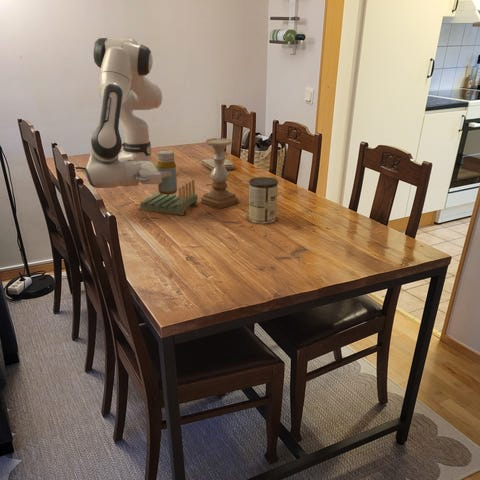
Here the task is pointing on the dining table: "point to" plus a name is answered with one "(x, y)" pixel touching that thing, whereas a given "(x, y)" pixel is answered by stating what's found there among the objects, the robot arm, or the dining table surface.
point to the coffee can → (262, 199)
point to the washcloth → (211, 164)
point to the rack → (171, 201)
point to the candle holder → (219, 177)
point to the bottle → (164, 165)
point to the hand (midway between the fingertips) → (169, 170)
